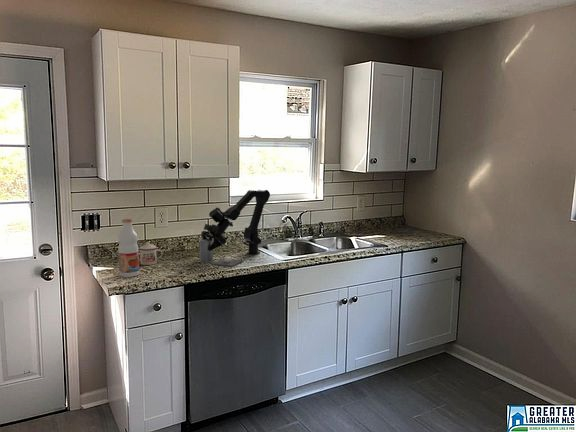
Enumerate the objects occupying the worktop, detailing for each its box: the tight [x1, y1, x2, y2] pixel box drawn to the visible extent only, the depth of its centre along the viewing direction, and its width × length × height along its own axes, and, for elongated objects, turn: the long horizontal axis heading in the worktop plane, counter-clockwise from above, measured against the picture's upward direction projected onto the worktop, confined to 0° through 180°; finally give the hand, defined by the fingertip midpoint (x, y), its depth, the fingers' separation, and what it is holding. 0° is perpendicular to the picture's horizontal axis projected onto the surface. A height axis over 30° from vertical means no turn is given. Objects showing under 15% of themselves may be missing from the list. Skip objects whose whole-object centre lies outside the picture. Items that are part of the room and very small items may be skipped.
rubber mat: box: [210, 256, 244, 268], centre depth 263 cm, size 13×13×3 cm
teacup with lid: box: [139, 242, 163, 266], centre depth 261 cm, size 12×9×12 cm
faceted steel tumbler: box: [198, 238, 214, 264], centre depth 266 cm, size 7×7×12 cm
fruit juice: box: [117, 218, 140, 278], centre depth 235 cm, size 9×9×28 cm
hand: (204, 249), depth 265 cm, fingers open, 9 cm apart
